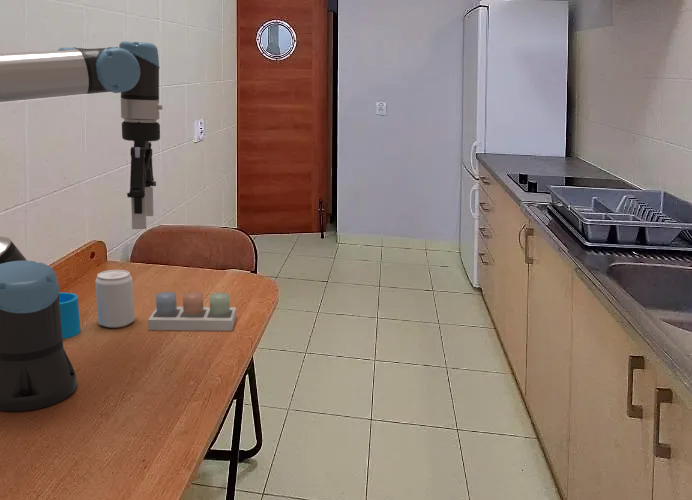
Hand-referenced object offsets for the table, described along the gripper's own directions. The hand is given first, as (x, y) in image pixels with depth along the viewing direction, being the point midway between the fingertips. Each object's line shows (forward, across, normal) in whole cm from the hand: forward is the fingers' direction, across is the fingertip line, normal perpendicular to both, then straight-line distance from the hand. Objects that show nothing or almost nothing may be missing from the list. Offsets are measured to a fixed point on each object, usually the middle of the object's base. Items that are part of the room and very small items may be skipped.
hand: (143, 222), depth 140 cm
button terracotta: (+23, +8, -10) cm, 26 cm away
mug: (+27, +7, +19) cm, 34 cm away
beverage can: (+26, +10, +8) cm, 29 cm away
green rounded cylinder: (+23, +7, -16) cm, 29 cm away
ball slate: (+23, +8, -4) cm, 25 cm away
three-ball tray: (+26, +8, -10) cm, 29 cm away
